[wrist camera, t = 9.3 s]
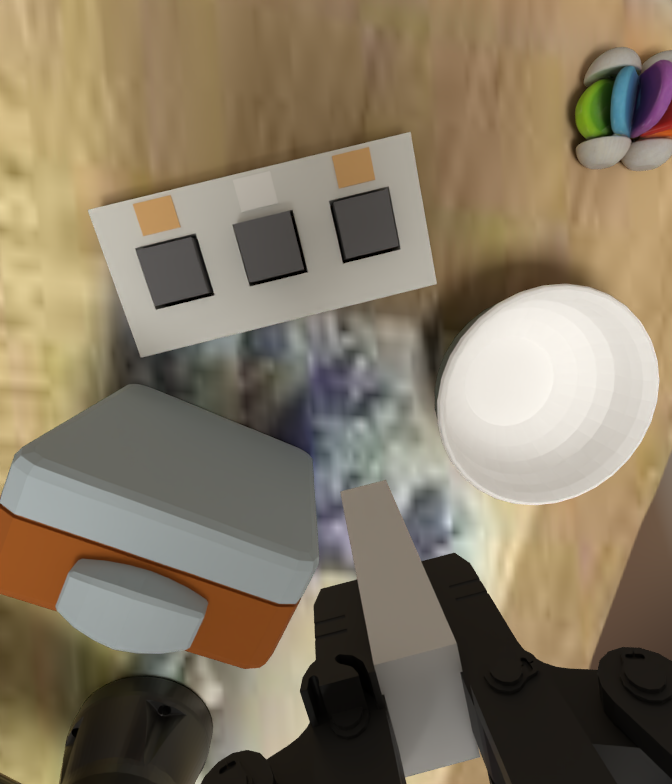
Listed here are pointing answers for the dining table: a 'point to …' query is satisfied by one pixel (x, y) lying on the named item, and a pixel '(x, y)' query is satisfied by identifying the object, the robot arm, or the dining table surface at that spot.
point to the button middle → (269, 246)
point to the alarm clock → (161, 528)
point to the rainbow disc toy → (626, 111)
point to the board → (255, 200)
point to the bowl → (546, 393)
